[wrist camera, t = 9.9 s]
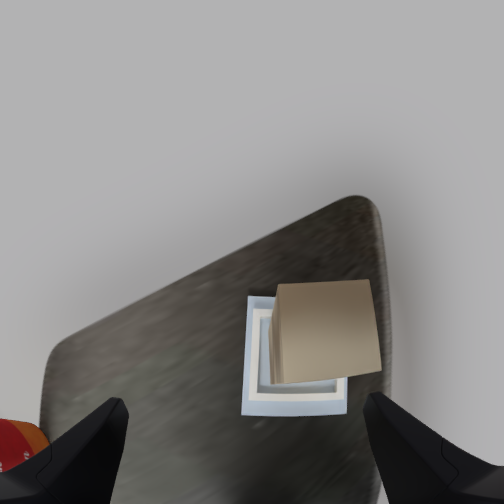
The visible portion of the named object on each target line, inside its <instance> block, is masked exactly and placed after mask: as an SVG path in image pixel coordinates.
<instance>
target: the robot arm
mask: <svg viewBox="0 0 504 504" xmlns="http://www.w3.org/2000/svg"><path fill="white" fill-rule="evenodd" d="M363 413H364V418H365V422H366V427H367V432H368V437H369V442H370V446H371V449H372V452H373V455H374V458H375V461H376V464H377V467H378V470H379V473H380V476H381V479H382V482H383V485H384V488H385V491H386V495H387V497H388V501H389V504H504V466H496V465H492V464H490V463H487V462H485V461H483V460H481V459H479V458H477V457H475V456H473V455H471V454H469V453H467V452H466V451H464V450H462V449H460V448H458V447H457V446H455V445H454V444H452V443H451V442H449V441H448V440H446V439H445V438H442V436H440V435H439V434H438V433H436V432H435V431H433V430H432V429H431V428H429V427H428V426H426V425H425V424H423V423H422V422H421V421H419V420H418V419H417V418H415V417H414V416H412V415H411V414H410V413H408V412H407V411H405V410H404V409H403V408H401V407H400V406H398V405H397V404H396V403H395V402H393V401H392V400H391V399H389V398H388V397H387V396H385V395H384V394H382V393H381V392H380V391H374V392H370V393H368V394H367V397H366V400H365V403H364V406H363ZM128 419H129V413H128V410H127V408H126V406H125V404H124V402H123V400H122V399H121V398H116V397H111V398H109V399H108V400H107V401H106V402H104V403H103V404H102V405H101V406H99V407H98V408H97V409H95V410H94V411H93V412H92V413H90V414H89V415H88V416H86V417H85V418H84V419H83V420H81V421H80V422H79V423H77V424H76V425H75V426H73V427H72V428H71V429H69V430H68V431H67V432H66V433H64V434H63V435H62V436H60V437H59V438H58V439H56V440H55V441H54V442H52V444H50V445H48V446H47V447H46V448H44V449H43V450H41V451H40V452H38V453H37V454H35V455H34V456H32V457H30V458H29V459H27V460H25V461H24V462H22V463H20V464H18V465H16V466H15V467H13V468H11V469H9V470H7V471H4V472H0V504H110V501H111V496H112V492H113V488H114V484H115V480H116V476H117V472H118V468H119V465H120V461H121V457H122V454H123V449H124V444H125V437H126V431H127V425H128Z"/></svg>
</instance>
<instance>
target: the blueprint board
mask: <svg viewBox="0 0 504 504" xmlns="http://www.w3.org/2000/svg"><path fill="white" fill-rule="evenodd" d="M275 298H276V297H258V296H248V307H247V325H246V342H245V360H244V378H243V395H242V413H241V415H252V416H318V415H335V414H347V377H343V378H337V379H330V380H322V381H312V382H301V383H289V384H272V385H270V362H269V339H268V330H269V325H270V321H271V316H272V312H273V307H274V302H275Z"/></svg>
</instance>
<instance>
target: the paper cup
mask: <svg viewBox="0 0 504 504" xmlns="http://www.w3.org/2000/svg"><path fill="white" fill-rule="evenodd" d="M48 445H50V444H49V442H48V440H47V438H46V436H45V435H44V433H43V432H42V431H41V430H40V429H39V428H38V427H37V426H36V425H34V424H32V423H27V422H21V421H14V420H7V419H0V472H4V471H7V470H9V469H11V468H13V467H15V466H16V465H18V464H20V463H22V462H24V461H25V460H27V459H29V458H30V457H32V456H34V455H35V454H37V453H38V452H40V451H41V450H43V449H44V448H46V447H47V446H48Z"/></svg>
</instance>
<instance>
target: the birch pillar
mask: <svg viewBox="0 0 504 504" xmlns="http://www.w3.org/2000/svg"><path fill="white" fill-rule="evenodd" d="M268 339H269V362H270V385H272V384H289V383H301V382H312V381H322V380H330V379H337V378H343V377H349V376H355V375H361V374H367V373H372V372H377V371H382V368H381V358H380V349H379V341H378V333H377V326H376V319H375V312H374V306H373V300H372V294H371V288H370V283H369V279H365V280H350V281H333V282H314V283H292V284H278V288H277V293H276V298H275V302H274V307H273V312H272V316H271V321H270V325H269V330H268Z"/></svg>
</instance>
